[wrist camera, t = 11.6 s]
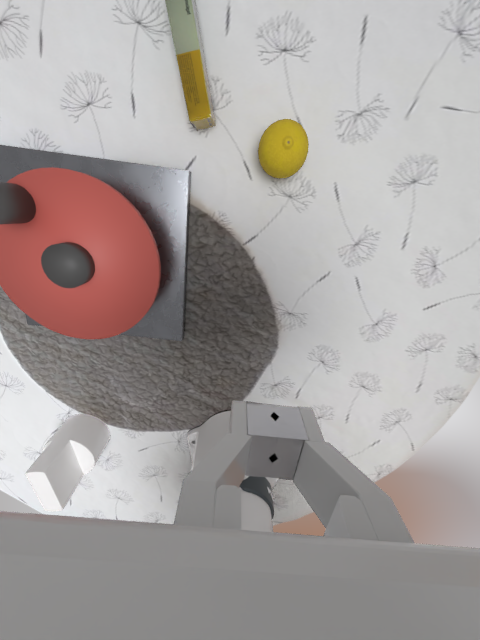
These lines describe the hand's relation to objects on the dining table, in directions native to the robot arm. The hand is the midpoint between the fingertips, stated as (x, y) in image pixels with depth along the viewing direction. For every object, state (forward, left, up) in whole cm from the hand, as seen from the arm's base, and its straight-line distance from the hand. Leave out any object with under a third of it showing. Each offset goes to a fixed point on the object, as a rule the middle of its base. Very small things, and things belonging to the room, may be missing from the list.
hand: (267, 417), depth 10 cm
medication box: (+22, +9, -32) cm, 39 cm away
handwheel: (-1, +21, -25) cm, 32 cm away
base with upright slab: (-36, +27, -31) cm, 55 cm away
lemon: (+14, -2, -31) cm, 34 cm away
